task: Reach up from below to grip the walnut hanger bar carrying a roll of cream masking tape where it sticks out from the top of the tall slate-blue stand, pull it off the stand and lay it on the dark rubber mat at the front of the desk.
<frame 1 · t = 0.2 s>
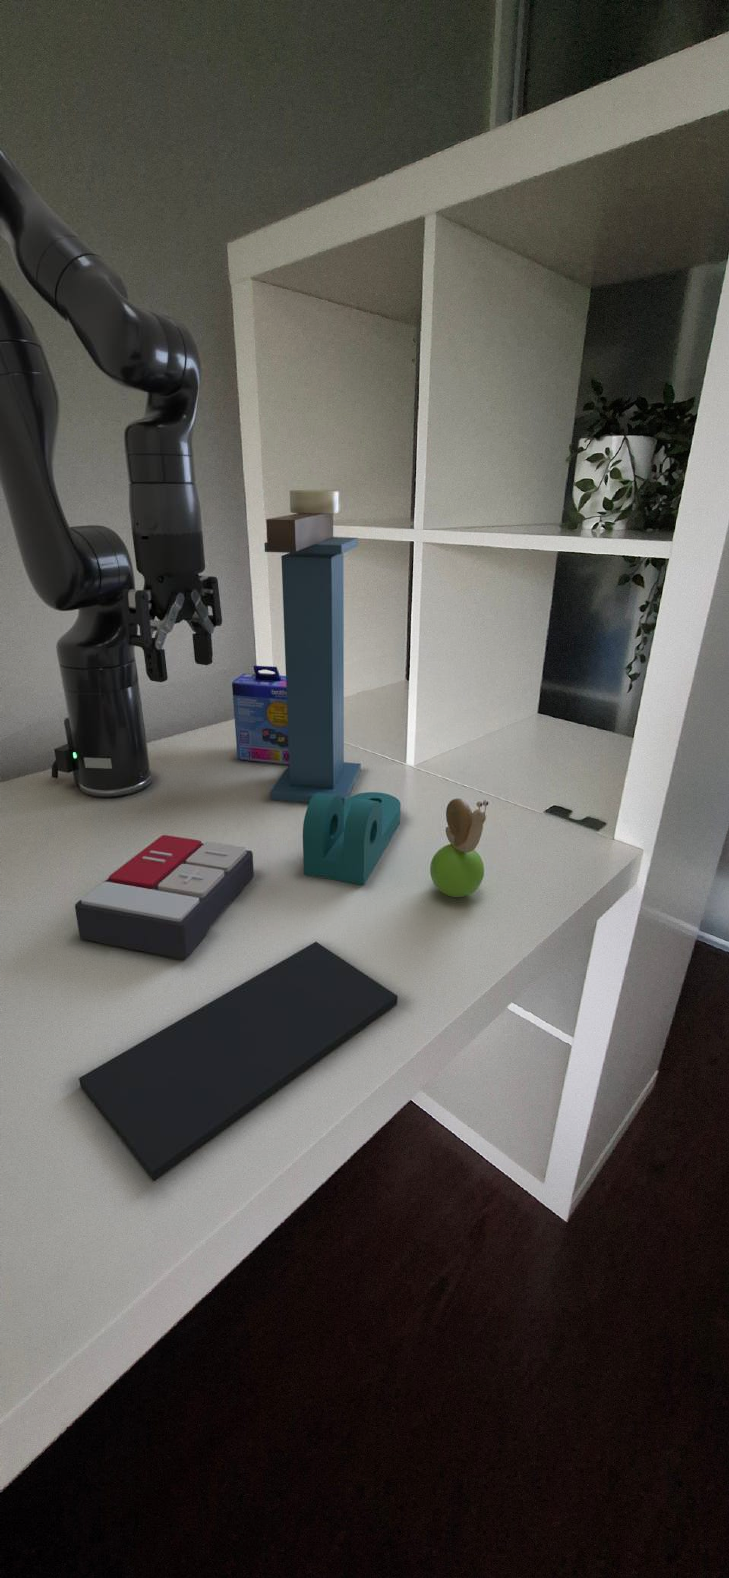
hand: (182, 672, 82), 17 cm above the table, tool pointing down, fingers open, 8 cm apart
bracket: (359, 842, 81), on the table
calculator: (173, 906, 68), on the table
snail figurine: (457, 896, 71), on the table
ink cartridge box: (272, 758, 104), on the table
tape bar: (303, 543, 78), point 32 cm above the table, touching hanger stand
rubber mat: (251, 1041, 52), on the table
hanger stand: (317, 784, 95), on the table
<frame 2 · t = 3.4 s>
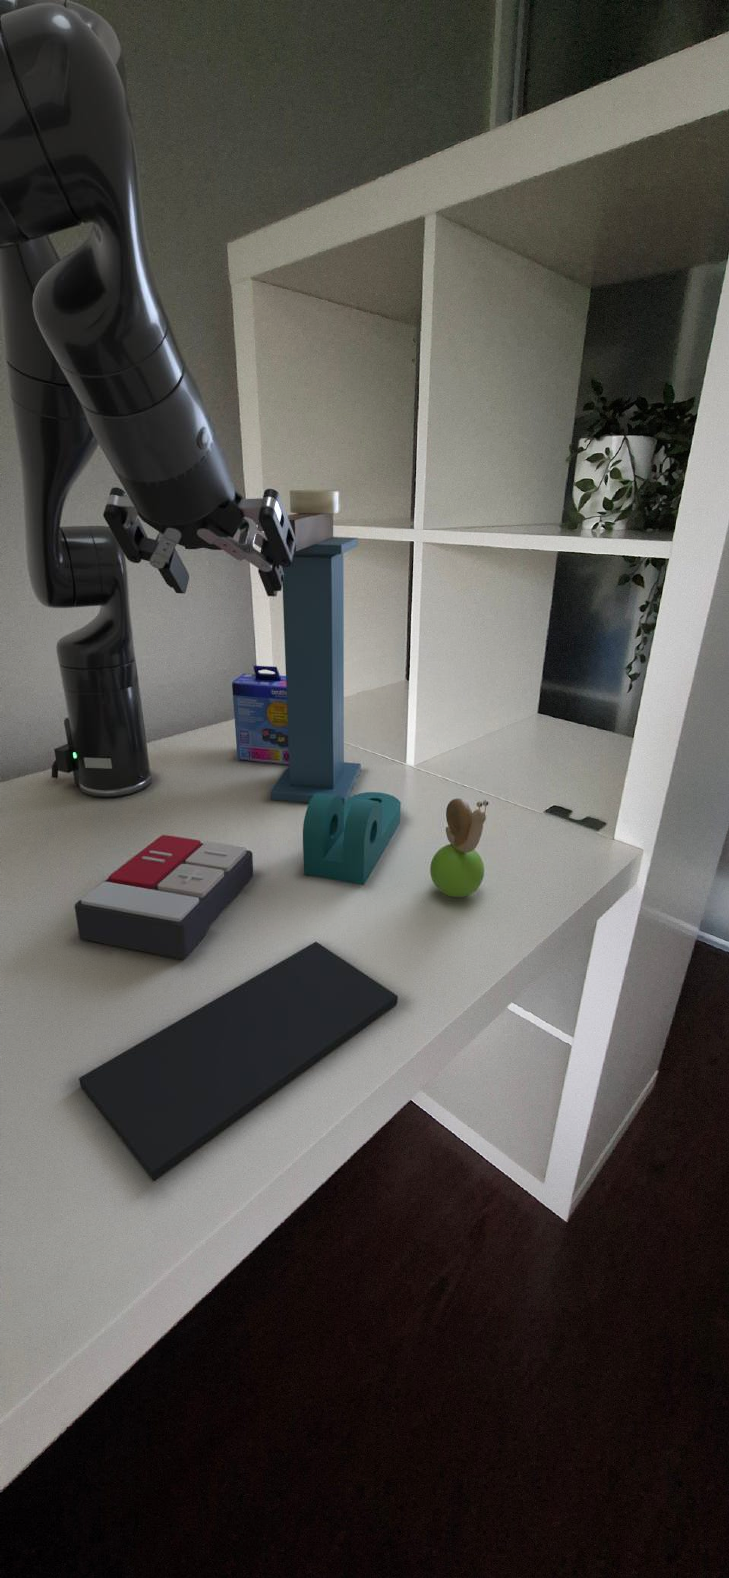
hand: (228, 587, 62), 30 cm above the table, tool tilted 45°, fingers open, 8 cm apart
nothing on the table moved.
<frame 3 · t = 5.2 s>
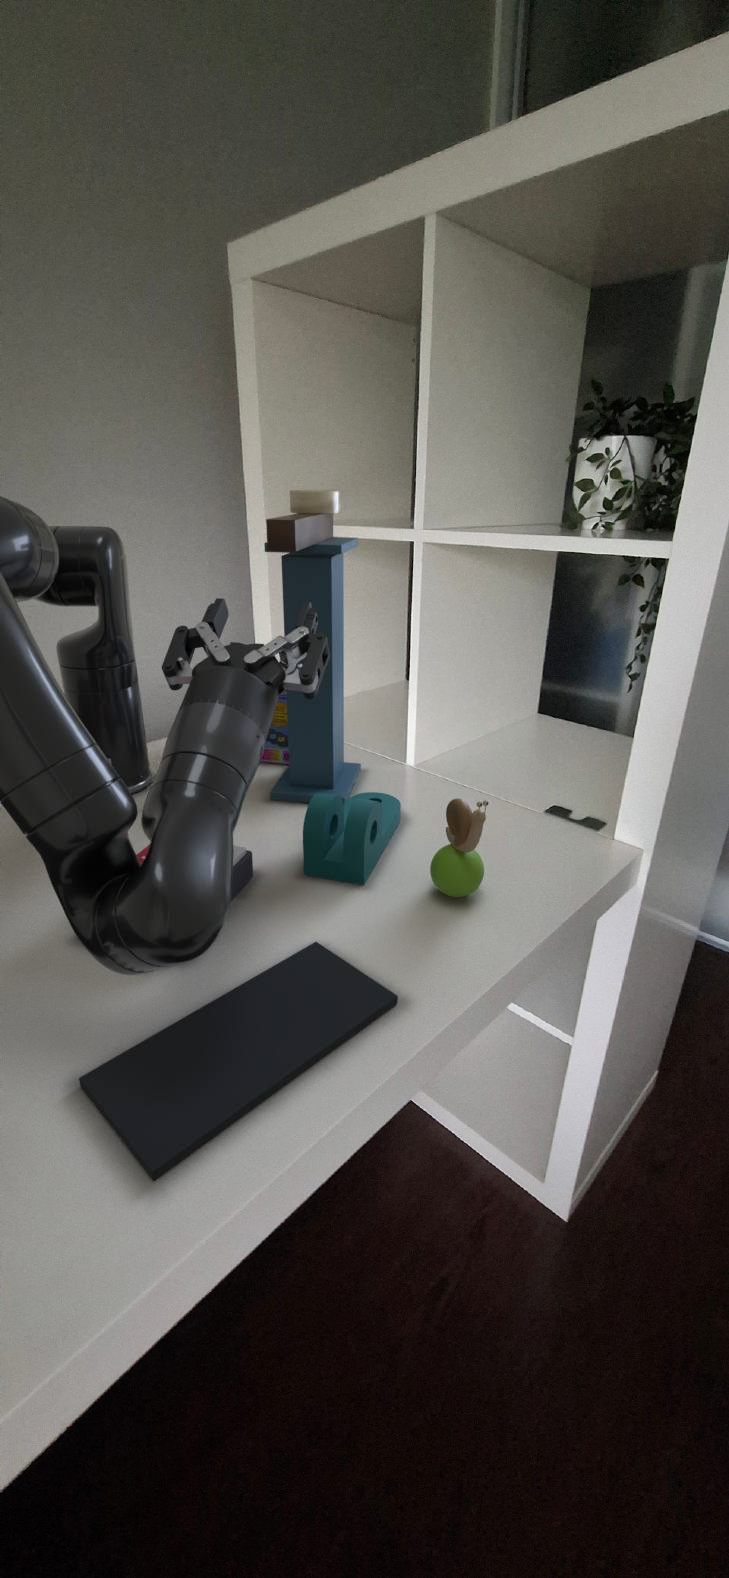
hand: (265, 607, 66), 27 cm above the table, tool pointing upward, fingers open, 8 cm apart
nothing on the table moved.
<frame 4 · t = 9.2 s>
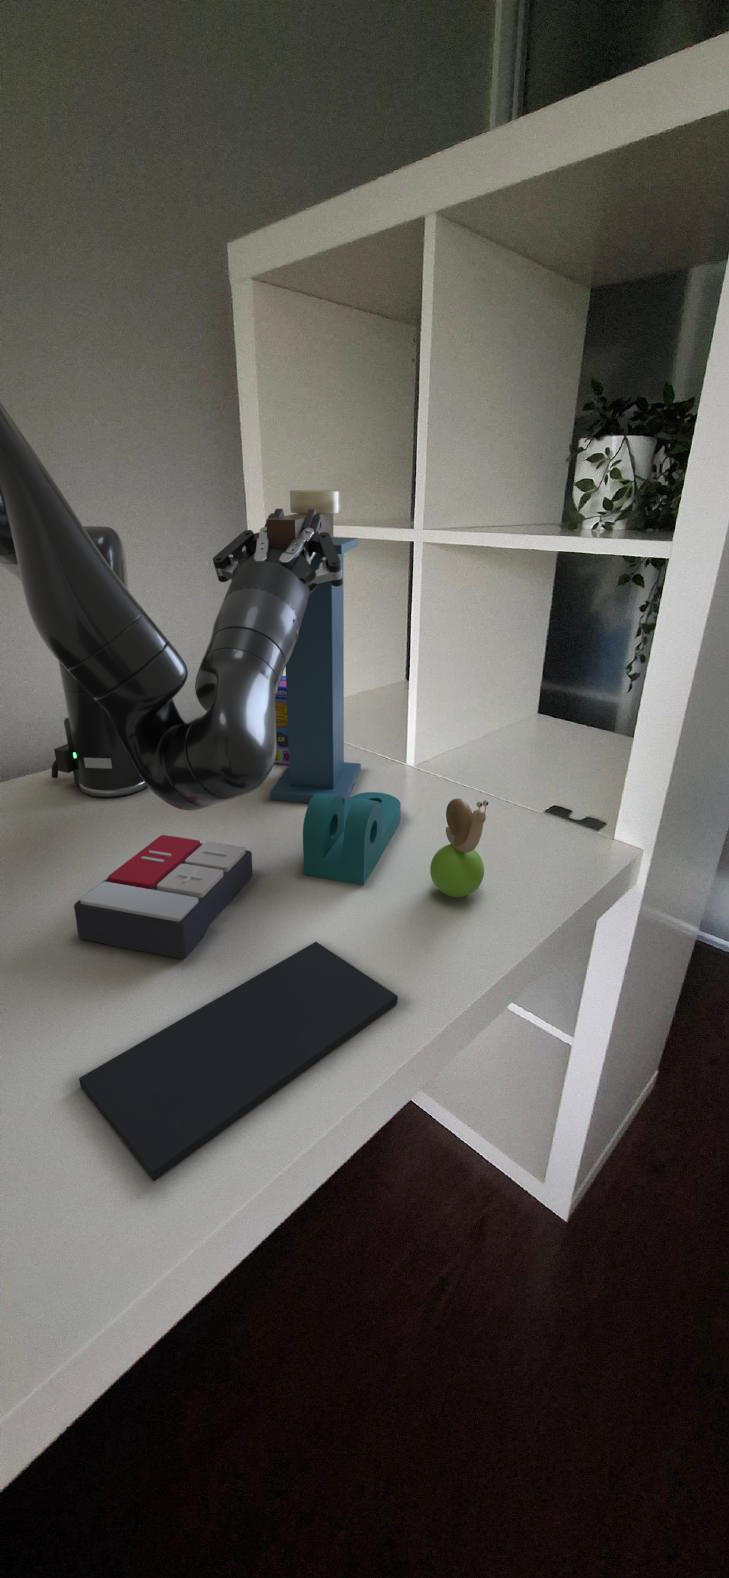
hand: (297, 517, 74), 35 cm above the table, tool pointing upward, fingers closed on tape bar, 3 cm apart
tape bar: (303, 543, 78), point 32 cm above the table, touching gripper, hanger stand
everything else where it was.
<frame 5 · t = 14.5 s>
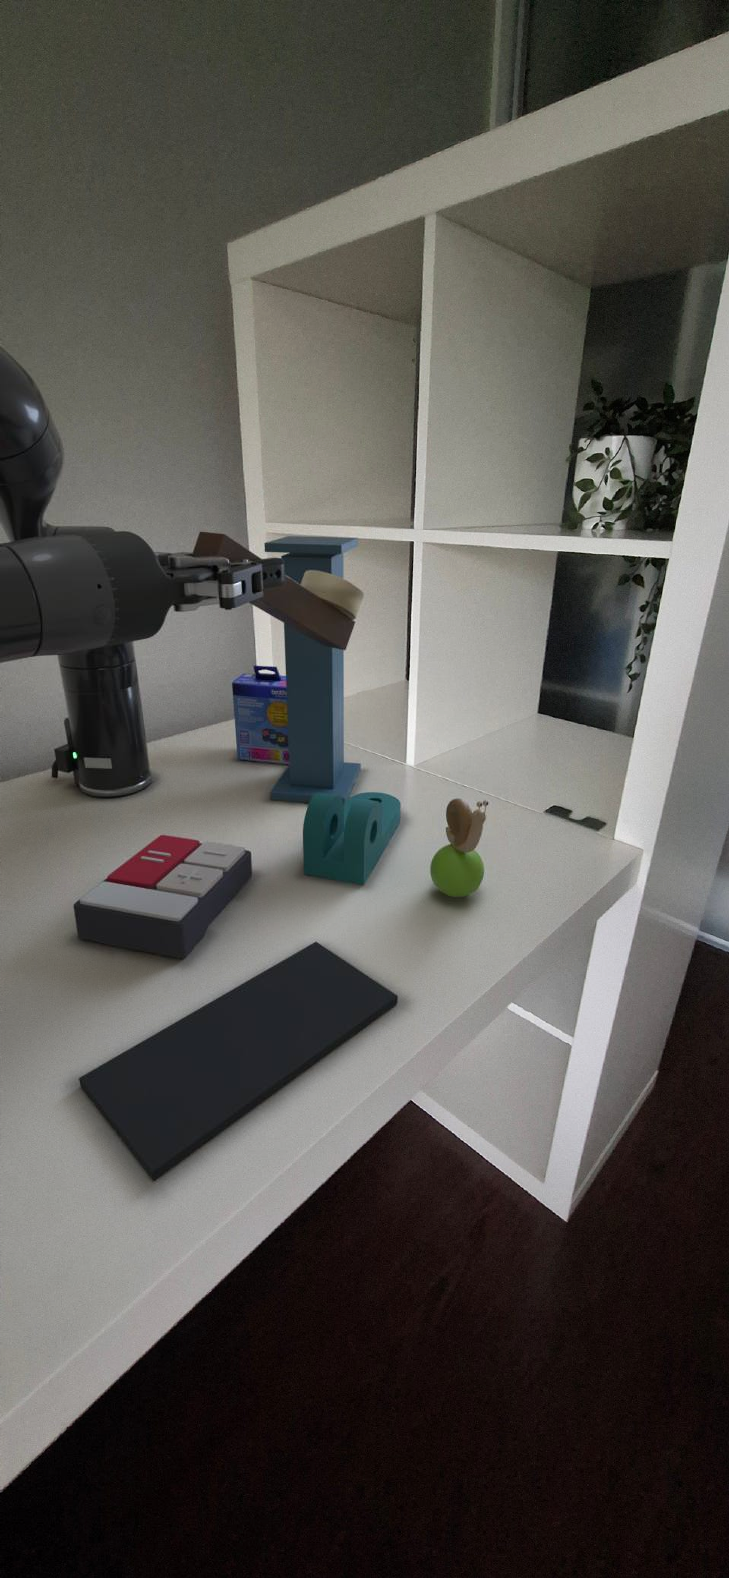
hand: (266, 569, 59), 32 cm above the table, tool horizontal, fingers closed on tape bar, 3 cm apart
tape bar: (275, 613, 61), point 28 cm above the table, tilted 30°, touching gripper
everything else where it was.
when the fingers open (9 cm above the table, at t = 22.2 s): tape bar drops 4 cm, resting on rubber mat.
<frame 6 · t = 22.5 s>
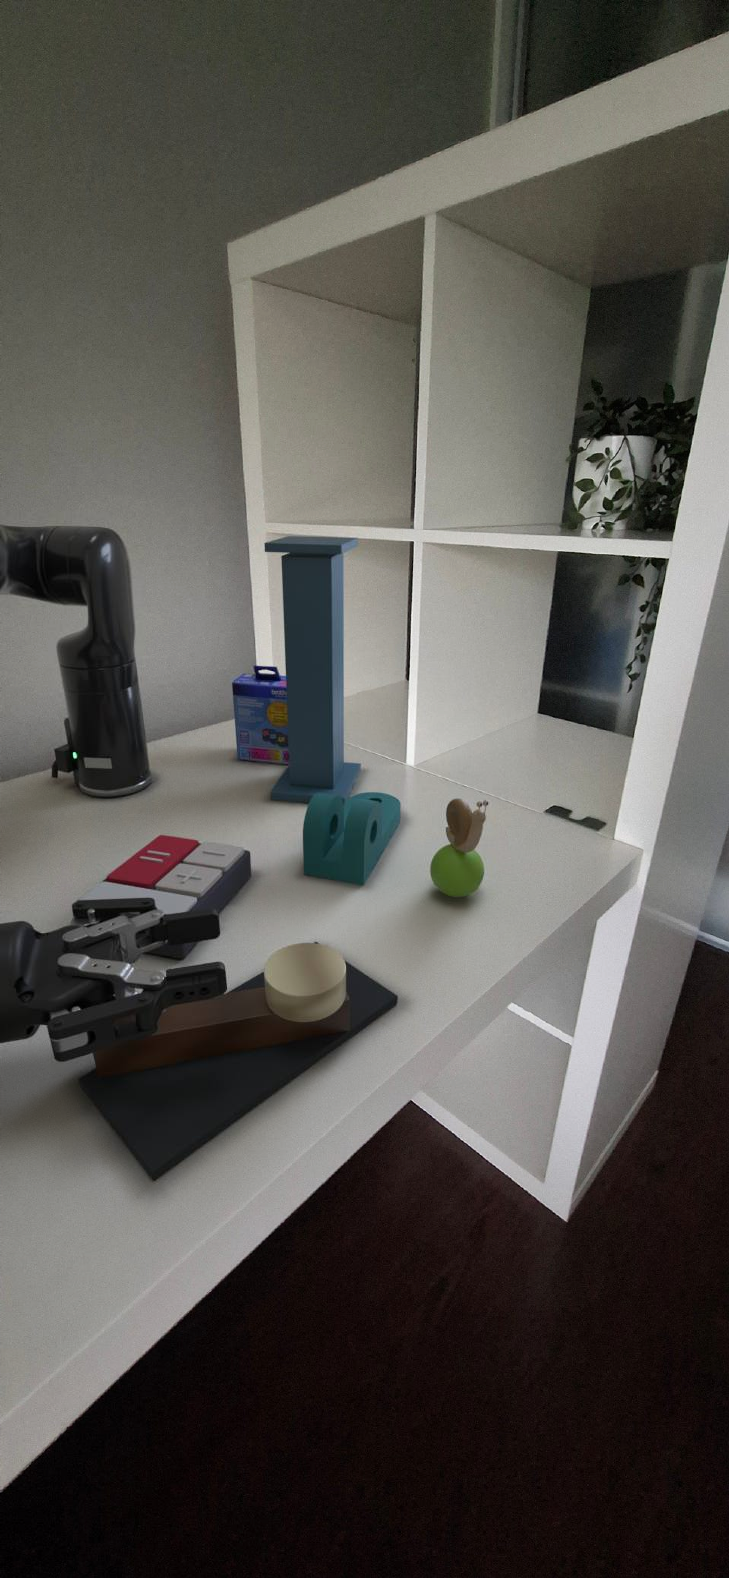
hand: (221, 948, 48), 9 cm above the table, tool horizontal, fingers open, 5 cm apart
tape bar: (227, 1038, 51), point 1 cm above the table, touching rubber mat
everything else where it was.
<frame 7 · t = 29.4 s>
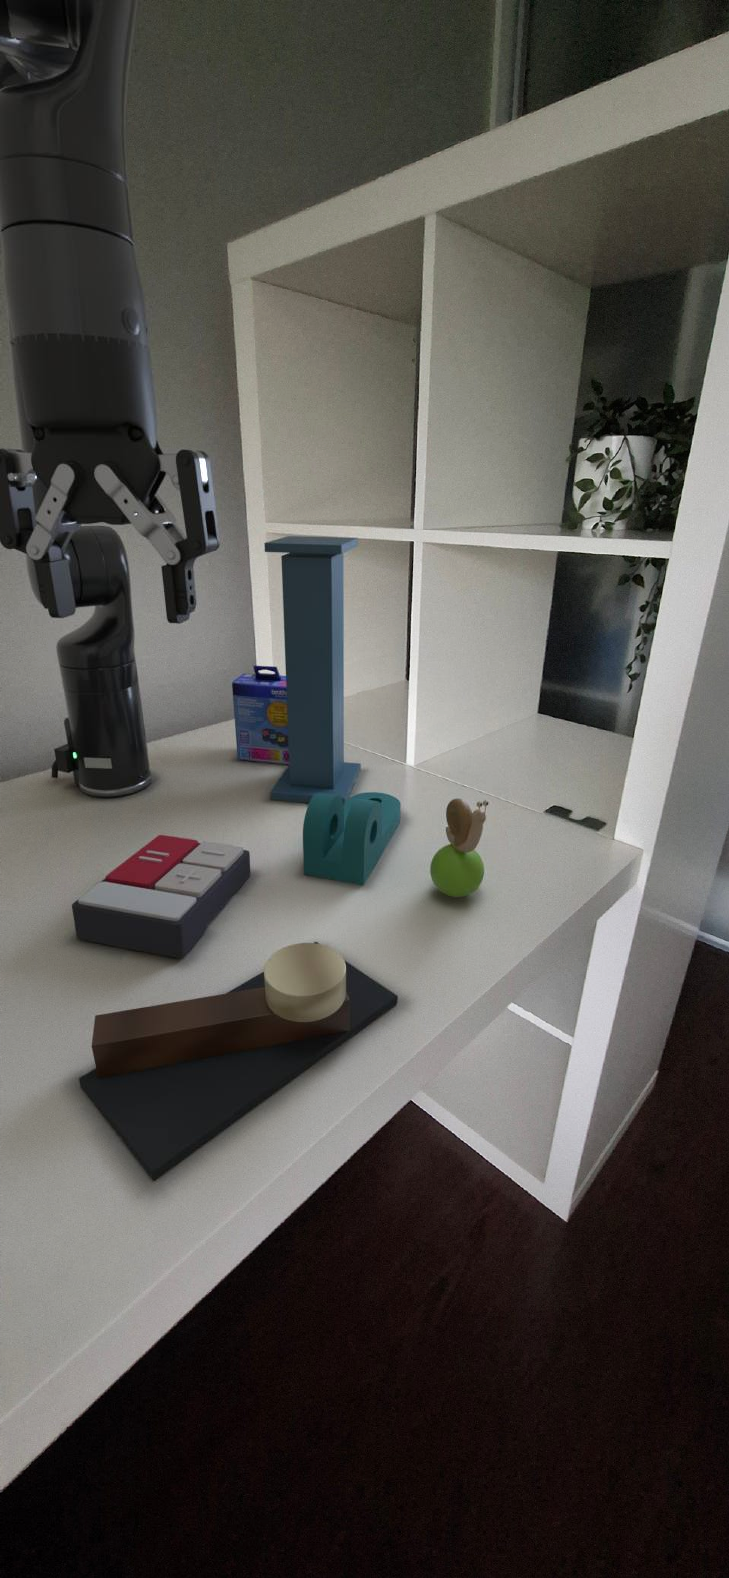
hand: (120, 618, 47), 30 cm above the table, tool pointing down, fingers open, 8 cm apart
nothing on the table moved.
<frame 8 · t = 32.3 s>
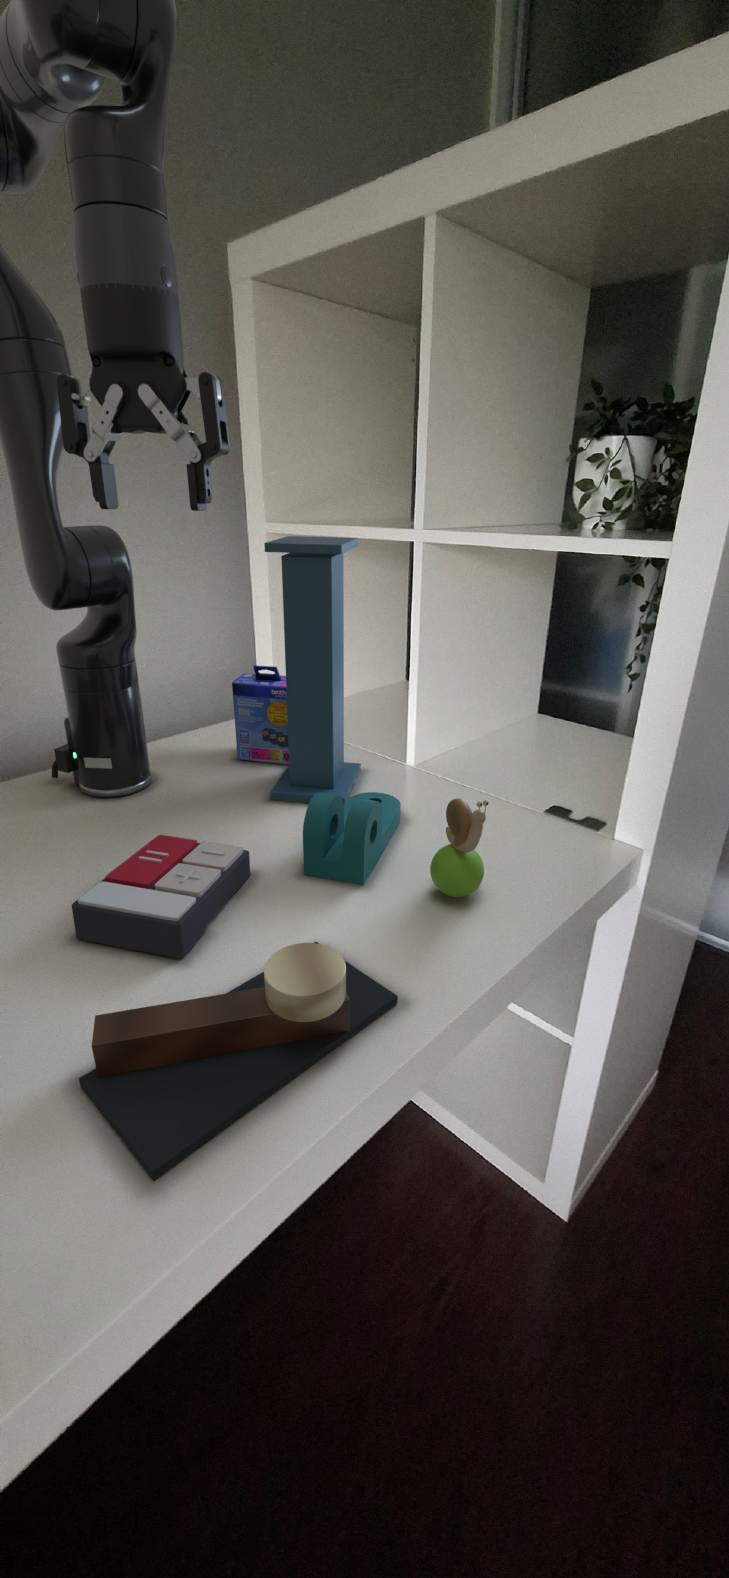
hand: (153, 509, 61), 36 cm above the table, tool pointing down, fingers open, 8 cm apart
nothing on the table moved.
at the end: tape bar inside the target area on the rubber mat (1.8 cm from its centre), point 0.8 cm above the rubber mat's base; tape bar touching rubber mat; the gripper is holding nothing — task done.
